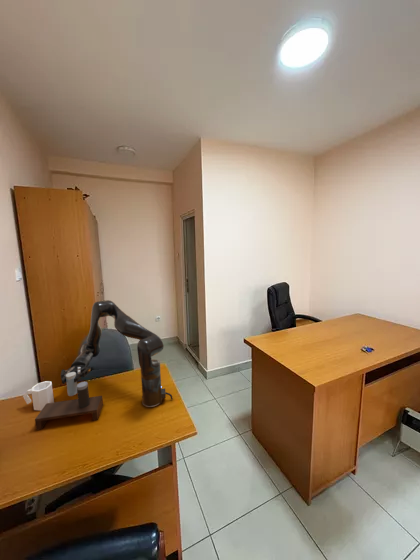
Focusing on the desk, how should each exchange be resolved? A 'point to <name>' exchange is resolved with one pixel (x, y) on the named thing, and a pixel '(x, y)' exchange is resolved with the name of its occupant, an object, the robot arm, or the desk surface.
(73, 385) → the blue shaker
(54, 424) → the desk surface
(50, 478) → the desk surface
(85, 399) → the dark shaker
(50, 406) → the desk shelf
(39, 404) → the mug
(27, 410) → the desk surface
